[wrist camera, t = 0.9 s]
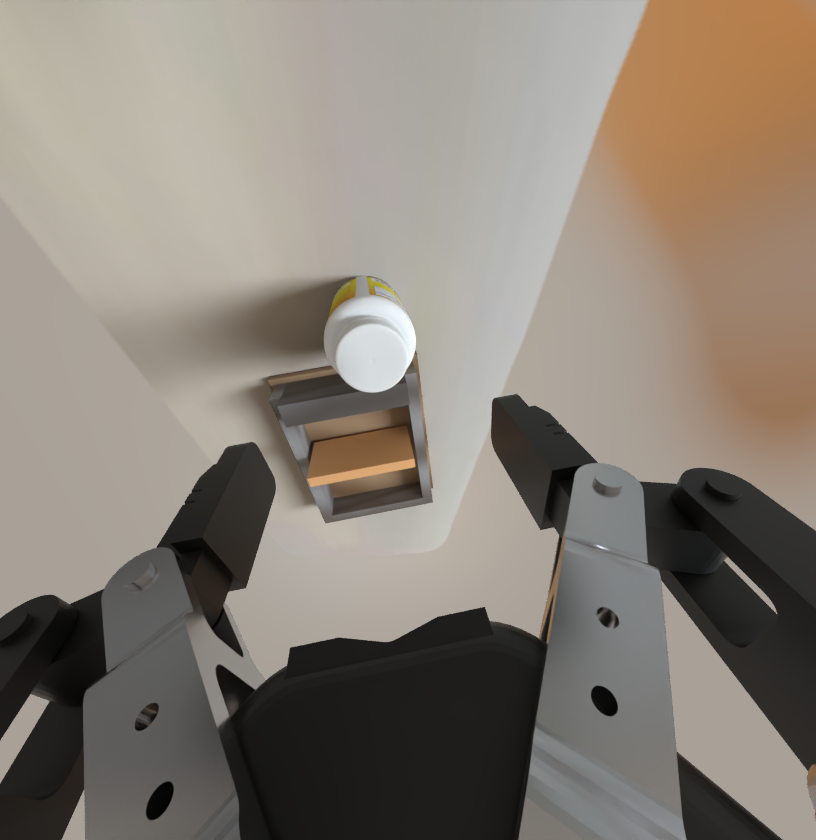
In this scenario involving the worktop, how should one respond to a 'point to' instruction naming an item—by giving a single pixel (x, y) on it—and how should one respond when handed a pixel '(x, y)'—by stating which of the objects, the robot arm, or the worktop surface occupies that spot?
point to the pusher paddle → (360, 456)
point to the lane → (350, 415)
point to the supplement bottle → (369, 335)
